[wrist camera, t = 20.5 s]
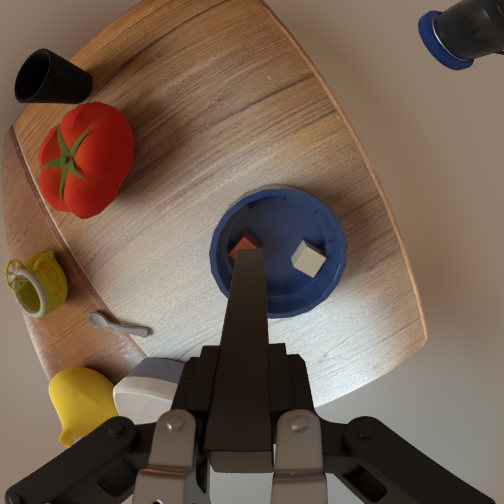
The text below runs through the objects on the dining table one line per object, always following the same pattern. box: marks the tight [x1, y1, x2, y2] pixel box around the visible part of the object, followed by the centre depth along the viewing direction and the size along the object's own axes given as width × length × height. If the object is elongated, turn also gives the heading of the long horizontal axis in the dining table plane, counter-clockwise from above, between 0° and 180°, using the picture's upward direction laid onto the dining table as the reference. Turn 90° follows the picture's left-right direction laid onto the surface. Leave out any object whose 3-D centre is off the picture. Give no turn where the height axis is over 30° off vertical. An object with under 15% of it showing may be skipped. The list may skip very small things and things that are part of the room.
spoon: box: [89, 312, 149, 337], centre depth 42 cm, size 3×12×2 cm, turn 78°
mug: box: [5, 250, 68, 319], centre depth 35 cm, size 13×11×12 cm
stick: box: [203, 248, 274, 473], centre depth 14 cm, size 2×2×16 cm
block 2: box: [291, 240, 327, 277], centre depth 36 cm, size 3×3×3 cm
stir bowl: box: [209, 184, 347, 319], centre depth 35 cm, size 17×17×6 cm
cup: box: [14, 48, 93, 104], centre depth 24 cm, size 8×8×12 cm
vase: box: [49, 367, 120, 448], centre depth 40 cm, size 18×18×19 cm
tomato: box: [38, 102, 135, 219], centre depth 29 cm, size 14×16×10 cm
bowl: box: [113, 358, 185, 425], centre depth 42 cm, size 15×15×11 cm
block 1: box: [228, 231, 263, 260], centre depth 36 cm, size 3×3×3 cm
